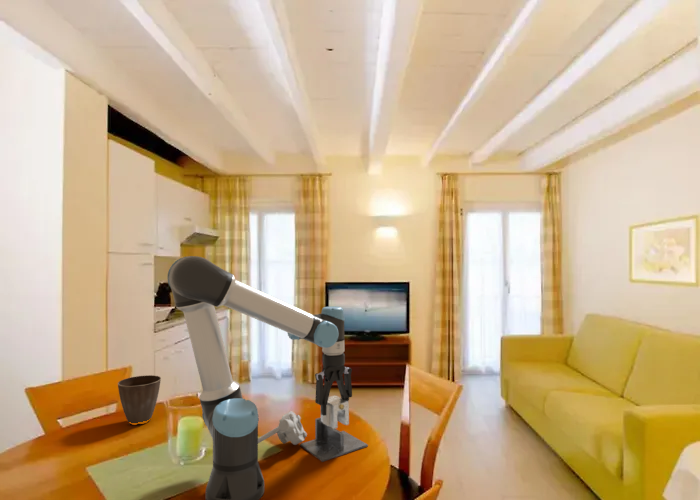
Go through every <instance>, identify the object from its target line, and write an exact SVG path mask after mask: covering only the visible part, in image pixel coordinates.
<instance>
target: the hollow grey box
mask: <svg viewBox="0 0 700 500" xmlns="http://www.w3.org/2000/svg"><path fill="white" fill-rule="evenodd" d="M349 401H350V400H349ZM349 401H346V400H344V399H342V398H341V396H340V397H339V396H338V395H331V396H329V397H328V402H327V405H329V426H330V427H332V428H333V429H338V427H339V425H338V422H339V423H341V424H342V425H345V426H349V425H350V415H349V413H350V411H349V410H350V409H349V408H350V407H349ZM320 418H321V422H323V415H322V414H321V413H320Z"/></svg>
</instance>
